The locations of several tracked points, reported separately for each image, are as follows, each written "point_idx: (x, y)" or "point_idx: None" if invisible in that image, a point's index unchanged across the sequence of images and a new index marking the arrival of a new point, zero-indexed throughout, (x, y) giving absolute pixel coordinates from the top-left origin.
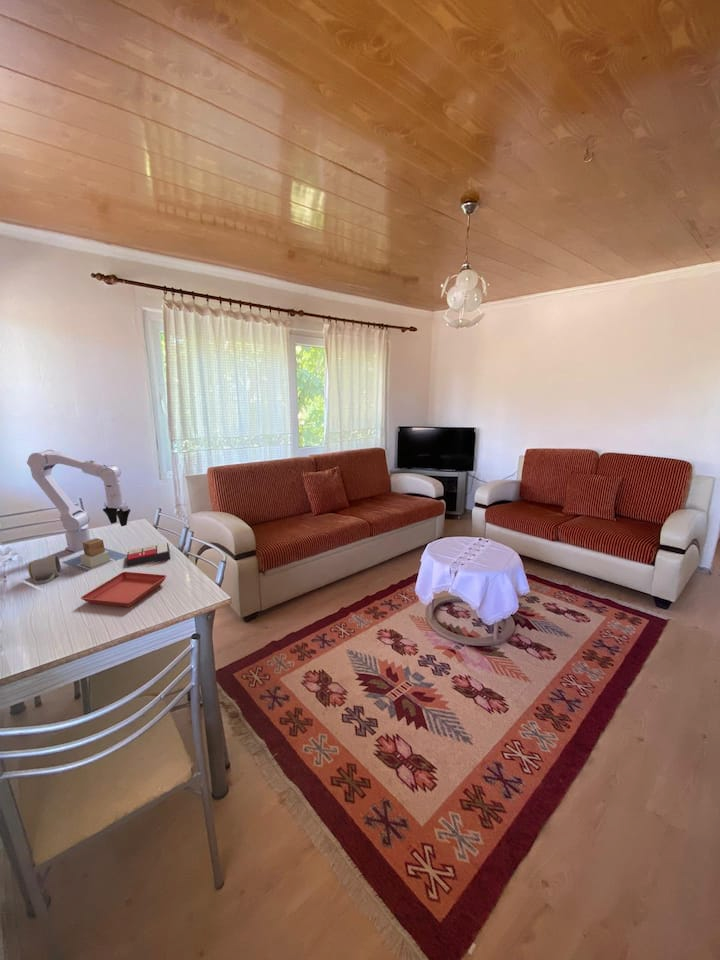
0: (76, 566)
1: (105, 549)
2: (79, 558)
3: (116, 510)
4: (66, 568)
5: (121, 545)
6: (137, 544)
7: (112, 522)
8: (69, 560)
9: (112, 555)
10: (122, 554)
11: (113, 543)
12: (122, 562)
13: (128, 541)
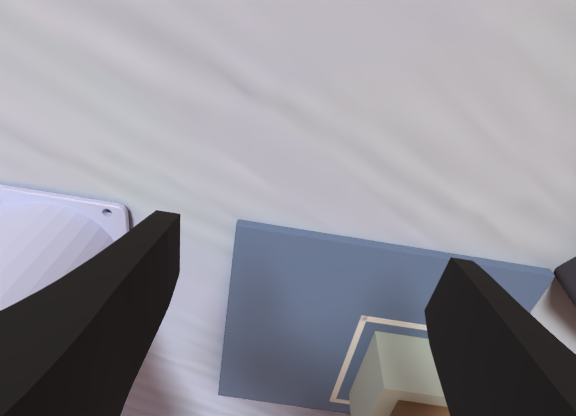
0: (345, 408)
1: (278, 244)
2: (257, 357)
3: (50, 380)
4: (298, 409)
5: (300, 128)
6: (439, 63)
7: (172, 276)
8: (232, 380)
9: (427, 298)
10: (489, 273)
11: (181, 113)
12: (556, 326)
13: (273, 26)
